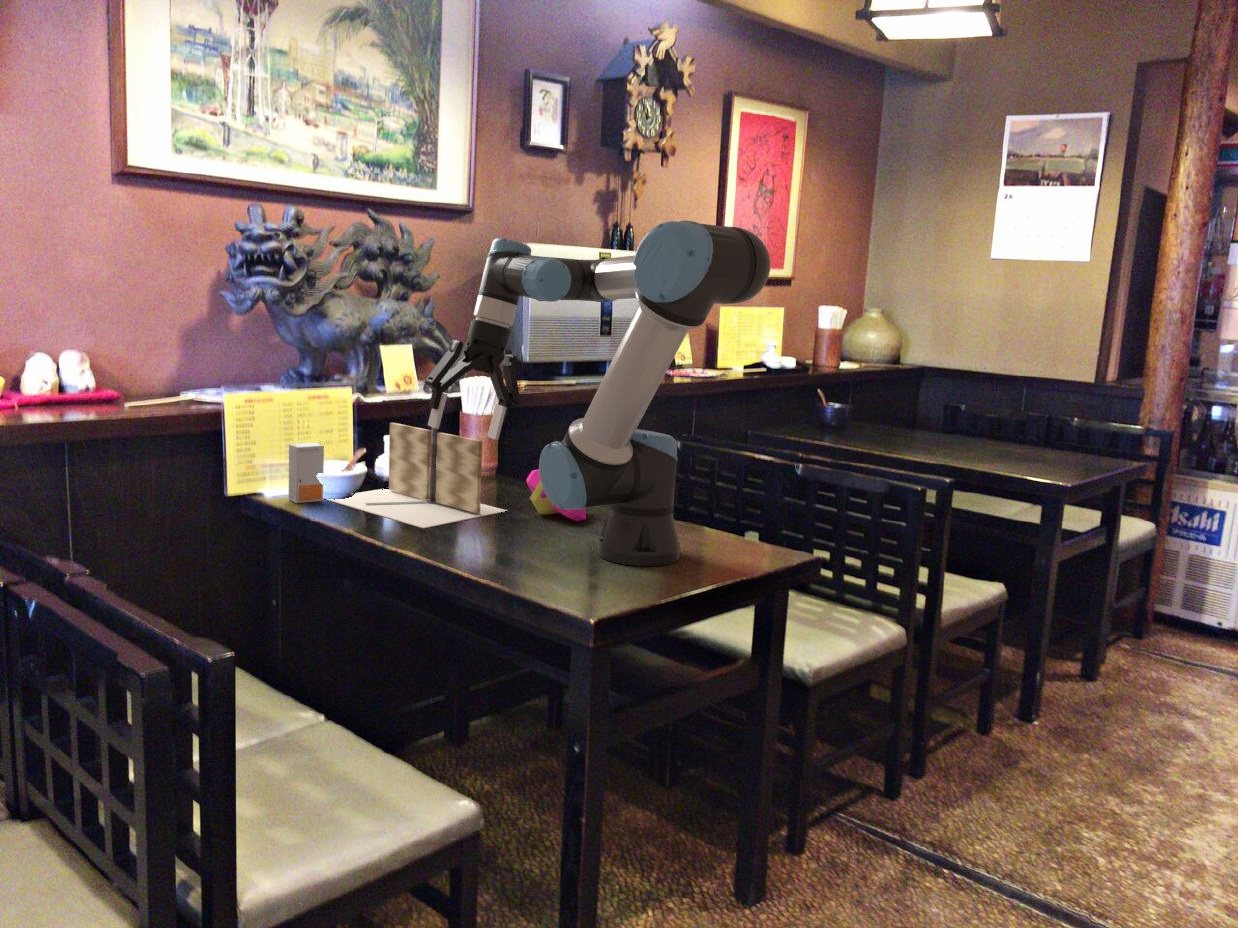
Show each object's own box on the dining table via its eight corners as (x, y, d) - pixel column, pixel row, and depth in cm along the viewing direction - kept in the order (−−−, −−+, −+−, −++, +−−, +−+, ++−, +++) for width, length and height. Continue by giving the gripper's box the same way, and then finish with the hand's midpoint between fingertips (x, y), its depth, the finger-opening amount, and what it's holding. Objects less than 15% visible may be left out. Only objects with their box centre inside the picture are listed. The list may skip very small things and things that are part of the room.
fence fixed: (482, 514, 207) (485, 433, 204) (473, 516, 205) (476, 434, 202) (433, 501, 216) (435, 423, 213) (423, 503, 214) (425, 424, 211)
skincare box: (296, 504, 207) (296, 447, 205) (288, 500, 210) (288, 443, 208) (324, 501, 211) (324, 445, 209) (315, 497, 214) (316, 442, 212)
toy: (548, 530, 201) (576, 487, 200) (503, 488, 213) (528, 447, 212) (580, 542, 208) (607, 501, 207) (534, 501, 221) (559, 461, 219)
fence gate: (429, 499, 216) (431, 430, 213) (426, 499, 215) (427, 430, 212) (392, 489, 223) (393, 422, 221) (388, 489, 223) (389, 423, 220)
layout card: (507, 511, 211) (507, 509, 211) (423, 528, 194) (423, 527, 193) (408, 485, 231) (408, 484, 231) (323, 499, 213) (323, 497, 213)
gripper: (532, 335, 198) (504, 438, 199) (424, 304, 180) (396, 417, 182) (555, 340, 192) (526, 447, 194) (446, 309, 175) (416, 426, 177)
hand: (463, 433), depth 188 cm, fingers open, 13 cm apart
